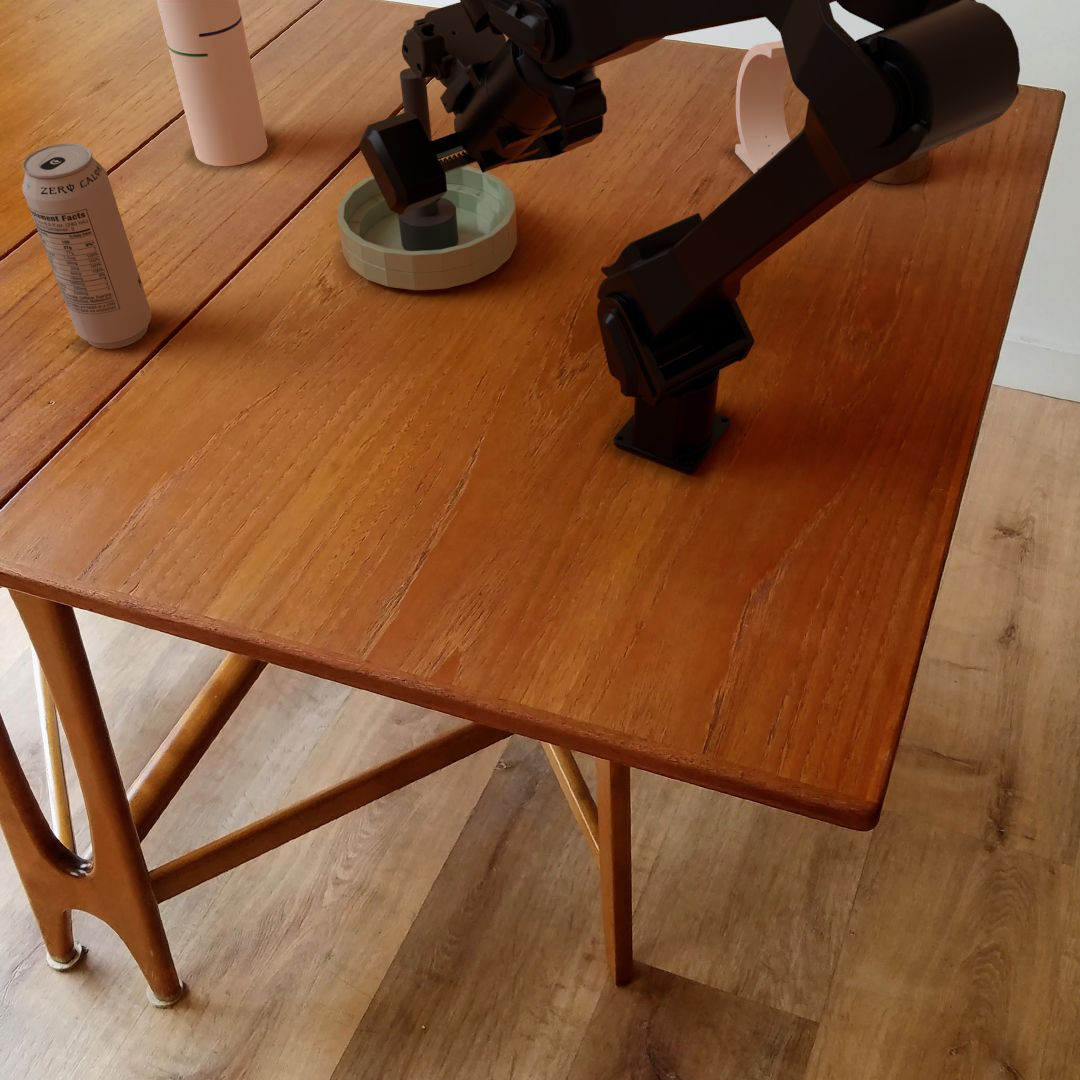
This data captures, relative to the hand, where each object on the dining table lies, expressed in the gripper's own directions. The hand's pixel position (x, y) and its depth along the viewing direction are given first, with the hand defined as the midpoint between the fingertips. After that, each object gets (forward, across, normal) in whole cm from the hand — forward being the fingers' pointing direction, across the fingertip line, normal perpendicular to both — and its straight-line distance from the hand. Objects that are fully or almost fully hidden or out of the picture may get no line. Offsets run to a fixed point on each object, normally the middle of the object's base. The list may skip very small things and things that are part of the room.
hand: (449, 176), depth 93 cm
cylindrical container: (+29, +6, -17) cm, 34 cm away
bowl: (+9, 0, +3) cm, 10 cm away
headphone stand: (+4, -34, +8) cm, 35 cm away
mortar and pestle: (-2, -42, +14) cm, 44 cm away
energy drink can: (+13, +27, -1) cm, 30 cm away
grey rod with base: (+9, 0, +2) cm, 9 cm away
